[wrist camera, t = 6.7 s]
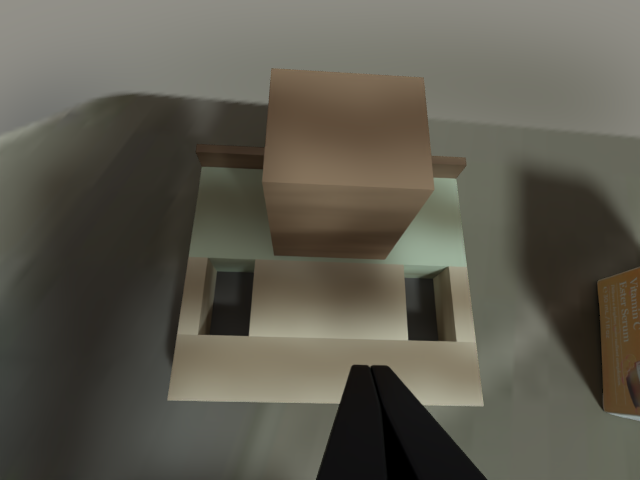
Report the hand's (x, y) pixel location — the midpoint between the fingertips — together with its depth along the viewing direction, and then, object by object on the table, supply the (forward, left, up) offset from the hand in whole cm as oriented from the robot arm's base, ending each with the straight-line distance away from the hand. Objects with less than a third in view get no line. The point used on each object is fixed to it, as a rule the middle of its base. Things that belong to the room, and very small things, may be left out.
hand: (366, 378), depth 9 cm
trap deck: (+4, -4, -14) cm, 15 cm away
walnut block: (+6, -6, -11) cm, 14 cm away
